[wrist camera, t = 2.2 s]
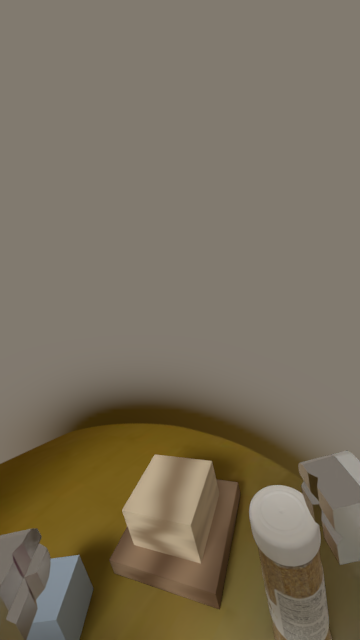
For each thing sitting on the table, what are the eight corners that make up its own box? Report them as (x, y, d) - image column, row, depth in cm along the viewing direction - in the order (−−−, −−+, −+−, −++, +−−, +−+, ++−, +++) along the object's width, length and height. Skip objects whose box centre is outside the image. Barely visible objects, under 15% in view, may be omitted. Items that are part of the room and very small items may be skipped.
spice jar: (273, 596, 25) (250, 479, 22) (329, 609, 23) (313, 484, 20) (273, 669, 21) (245, 538, 17) (341, 691, 19) (323, 551, 16)
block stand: (114, 573, 30) (95, 524, 28) (160, 481, 40) (148, 442, 38) (219, 609, 25) (204, 553, 23) (240, 494, 35) (231, 450, 34)
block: (22, 664, 24) (1, 626, 23) (49, 595, 29) (33, 561, 28) (74, 658, 24) (56, 619, 23) (93, 589, 29) (79, 554, 27)
